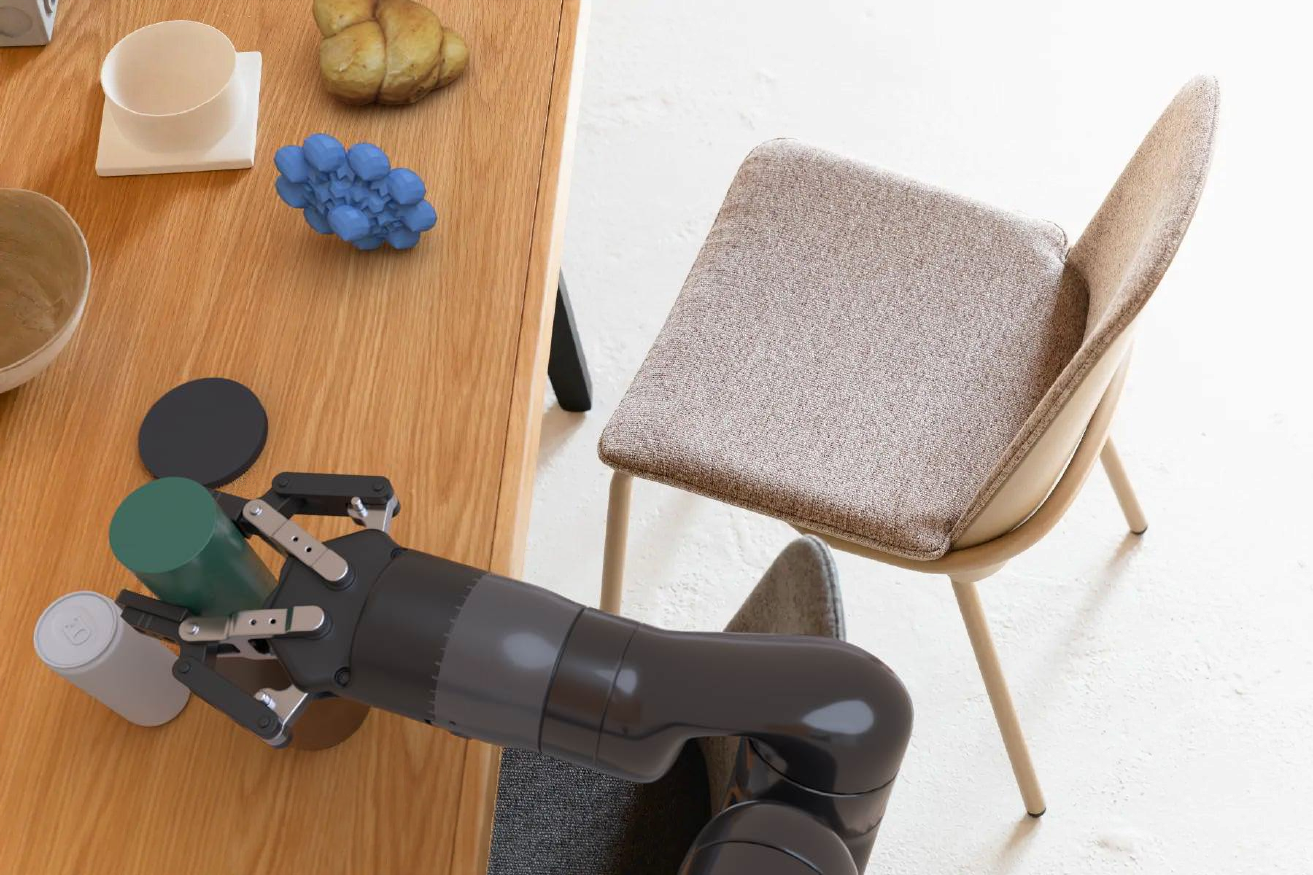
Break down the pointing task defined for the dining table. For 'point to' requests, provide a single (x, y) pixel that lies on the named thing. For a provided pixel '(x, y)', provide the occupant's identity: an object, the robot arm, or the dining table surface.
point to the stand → (319, 720)
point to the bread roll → (385, 50)
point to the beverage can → (109, 658)
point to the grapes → (353, 193)
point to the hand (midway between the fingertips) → (153, 553)
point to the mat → (204, 432)
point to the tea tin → (188, 549)
